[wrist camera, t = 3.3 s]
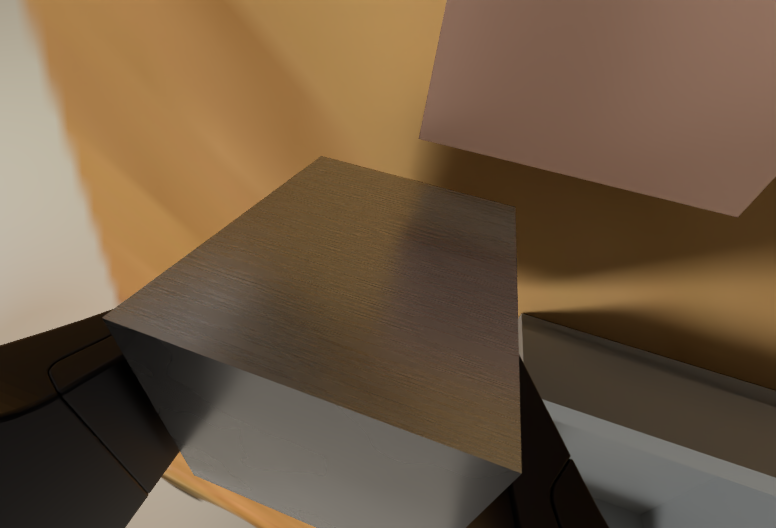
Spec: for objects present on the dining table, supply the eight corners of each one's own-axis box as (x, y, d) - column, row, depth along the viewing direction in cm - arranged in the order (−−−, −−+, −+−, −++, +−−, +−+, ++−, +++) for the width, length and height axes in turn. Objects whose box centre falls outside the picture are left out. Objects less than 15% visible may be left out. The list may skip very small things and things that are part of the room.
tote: (835, 409, 11) (937, 532, 9) (642, 507, 18) (665, 594, 15) (521, 313, 13) (524, 393, 10) (449, 437, 19) (439, 505, 17)
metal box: (515, 206, 8) (521, 473, 3) (457, 339, 11) (420, 571, 6) (321, 156, 9) (101, 318, 4) (319, 294, 12) (194, 474, 7)
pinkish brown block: (836, -92, 6) (1111, -182, 3) (667, 155, 9) (737, 217, 6) (500, -135, 7) (494, -236, 4) (444, 103, 10) (418, 138, 7)
